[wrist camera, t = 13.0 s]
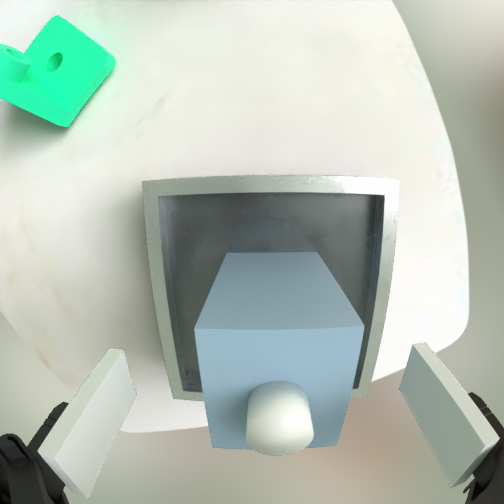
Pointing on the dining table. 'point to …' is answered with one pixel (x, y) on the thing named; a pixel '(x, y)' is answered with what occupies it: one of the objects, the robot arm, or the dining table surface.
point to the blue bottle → (276, 353)
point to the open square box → (266, 249)
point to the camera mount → (54, 72)
